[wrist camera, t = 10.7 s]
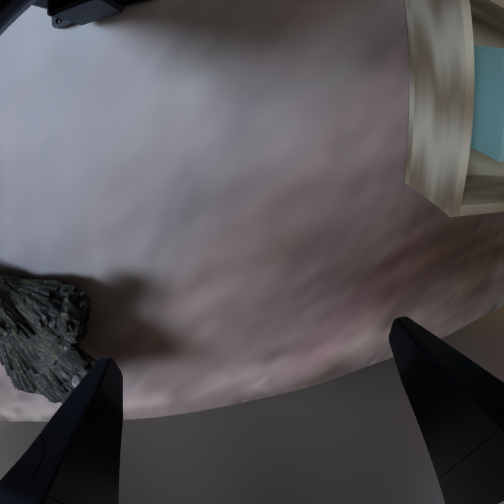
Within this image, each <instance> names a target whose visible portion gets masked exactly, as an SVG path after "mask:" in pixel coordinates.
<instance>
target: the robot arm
mask: <svg viewBox="0 0 504 504" xmlns="http://www.w3.org/2000/svg"><path fill="white" fill-rule="evenodd" d="M148 1H152V0H0V35H1V34H2V33H3V32H4V31H5V30H6V29H7V28H8V27H9V26H10V25H11V24H12V23H13V22H14V21H15V20H16V19H17V18H18V17H19V16H20V15H21V14H22V13H23V12H25V11H26V10H27V9H28V8H29V7H30V6H31V5H34V6H37V7H41V8H45V9H47V15H49V16H51V17H52V26H53V27H54V28H58V29H61V28H64V27H67V26H69V25H72V24H74V23H76V24H80V25H84V24H87V23H89V22H92V21H95V20H98V19H102V18H105V17H108V16H111V15H115V14H118V13H121V12H122V11H123V10H124V9H125V7H128V6H131V5H135V4H139V3H144V2H148ZM59 19H62V22H61V23H60V24H59V23H58V21H59ZM389 343H390V346H391V349H392V352H393V356H394V359H395V362H396V365H397V369H398V372H399V375H400V379H401V381H402V384H403V387H404V389H405V391H406V394H407V396H408V399H409V401H410V403H411V406H412V409H413V411H414V414H415V416H416V419H417V422H418V424H419V427H420V429H421V432H422V435H423V438H424V440H425V443H426V446H427V449H428V451H429V454H430V457H431V460H432V463H433V466H434V469H435V472H436V475H437V478H438V482H439V485H440V488H441V491H442V494H443V498H444V501H445V504H504V382H502V381H501V380H499V379H498V378H496V377H495V376H493V375H492V374H491V373H489V372H488V371H486V370H484V369H483V368H482V367H480V366H479V365H478V364H476V363H475V362H473V361H472V360H470V359H469V358H467V357H466V356H465V355H463V354H461V353H460V352H459V351H457V350H456V349H454V348H453V347H451V346H450V345H448V344H447V343H445V342H444V341H443V340H441V339H440V338H438V337H437V336H435V335H434V334H432V333H431V332H429V331H428V330H426V329H425V328H423V327H422V326H420V325H419V324H417V323H416V322H414V321H413V320H411V319H410V318H408V317H406V316H404V317H399V318H396V319H395V320H394V321H393V324H392V327H391V331H390V334H389ZM122 425H123V376H122V373H121V371H120V369H119V367H118V366H117V364H116V362H115V361H114V359H113V358H112V357H101V358H99V359H98V360H97V361H96V363H95V364H94V365H93V366H92V368H91V369H90V370H89V371H88V372H87V374H86V375H85V376H84V377H83V379H82V380H81V381H80V382H79V384H78V385H77V386H76V387H75V389H74V390H73V391H72V392H71V394H70V395H69V396H68V398H67V399H66V400H65V401H64V403H63V404H62V405H61V406H60V408H59V409H58V410H57V412H56V413H55V414H54V416H53V417H52V418H51V419H50V421H49V422H48V423H47V425H46V426H45V427H44V429H43V430H42V432H41V433H40V434H39V435H38V436H37V438H36V439H35V441H34V442H33V443H32V444H31V446H30V447H29V448H28V450H27V451H26V452H25V453H24V454H23V455H22V457H21V458H20V459H19V460H18V461H17V462H16V463H15V465H14V466H13V467H12V468H11V469H10V470H9V471H8V472H7V473H6V475H5V476H4V477H3V478H2V479H1V480H0V504H118V503H119V501H118V499H119V497H118V496H119V469H120V451H121V436H122Z"/></svg>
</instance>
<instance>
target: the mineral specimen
mask: <svg viewBox="0 0 504 504" xmlns="http://www.w3.org/2000/svg"><path fill="white" fill-rule="evenodd" d="M90 302H91V300H90V297H89V296H88V295H87V294H86V292H85V290H84V291H82V292H79V291H78V289H77V287H75V286H74V285H71V284H68V283H66V282H64V281H61V280H56V279H52V280H42V279H34V280H26V279H21V278H18V277H14V276H11V275H8V274H0V362H1V364H2V365H4V367H5V370H6V373H7V376H10V378H11V380H12V383H13V385H14V387H15V388H18V390H22V391H24V392H28V393H36V394H41V395H43V396H45V397H46V398H47V399H48V400H49V401H50V402H53V403H57V402H61V403H62V404H63V403H64V401H65V400H66V399H67V398H68V396H69V395H70V394H71V392H72V391H73V390H74V389H75V387H76V386H77V385H78V384H79V382H80V381H81V380H82V379H83V377H84V376H85V375H86V374H87V372H88V371H89V370H90V369H91V368H92V366H93V365H94V364H95V363H96V361H97V360H98V358H97V359H96V360H95V359H94V358H92V357H91V356H90V355H88V354H87V353H86V352H84V350H82V349H81V348H80V347H79V346H78V344H79V342H80V341H82V340H83V338H84V337H85V336H86V335H87V334H88V329H87V328H88V327H87V324H88V321H89V314H90V312H91V308H90Z"/></svg>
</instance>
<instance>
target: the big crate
mask: <svg viewBox="0 0 504 504" xmlns="http://www.w3.org/2000/svg"><path fill="white" fill-rule="evenodd" d="M405 7H406V17H407V29H408V44H409V74H410V98H409V129H408V145H407V158H406V169H405V179H404V183H406V184H407V185H408V186H410V187H411V188H413V189H414V190H415V191H417V192H418V193H419V194H421V195H422V196H423V197H425V198H426V199H427V200H429V201H430V202H431V203H433V204H434V205H435V206H437V207H438V208H439V209H440V210H442V211H443V212H444V213H445V214H447V215H448V216H449V217H458V216H468V215H478V214H487V213H497V212H504V162H499V161H497V160H495V159H493V158H491V157H489V156H487V155H485V154H483V153H481V152H479V151H477V150H475V149H472V148H470V144H471V135H472V124H473V109H474V46H485V47H495V48H504V0H405Z"/></svg>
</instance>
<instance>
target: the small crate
mask: <svg viewBox="0 0 504 504" xmlns="http://www.w3.org/2000/svg"><path fill="white" fill-rule="evenodd" d="M470 148H472V149H475V150H477V151H479V152H481V153H483V154H485V155H487V156H489V157H491V158H493V159H495V160H497V161H499V162H504V48H495V47H485V46H474V109H473V124H472V135H471V144H470Z"/></svg>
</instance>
